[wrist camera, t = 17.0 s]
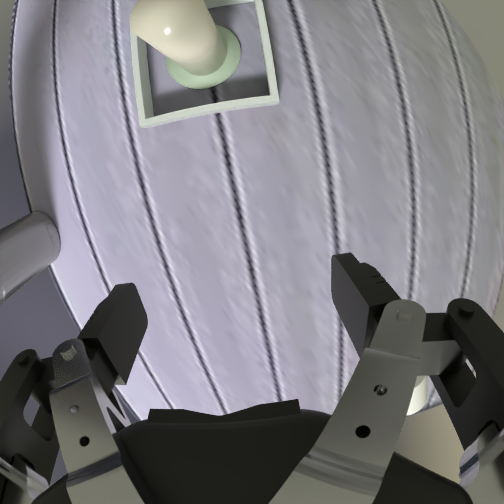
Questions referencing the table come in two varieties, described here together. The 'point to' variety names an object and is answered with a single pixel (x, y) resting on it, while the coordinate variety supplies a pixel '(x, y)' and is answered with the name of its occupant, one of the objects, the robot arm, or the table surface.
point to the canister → (181, 33)
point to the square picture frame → (150, 121)
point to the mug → (418, 395)
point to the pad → (217, 76)
